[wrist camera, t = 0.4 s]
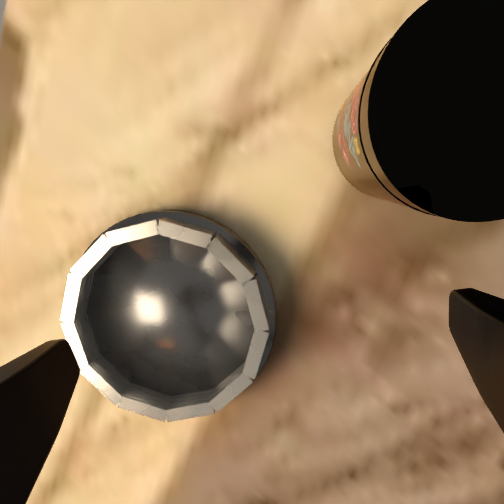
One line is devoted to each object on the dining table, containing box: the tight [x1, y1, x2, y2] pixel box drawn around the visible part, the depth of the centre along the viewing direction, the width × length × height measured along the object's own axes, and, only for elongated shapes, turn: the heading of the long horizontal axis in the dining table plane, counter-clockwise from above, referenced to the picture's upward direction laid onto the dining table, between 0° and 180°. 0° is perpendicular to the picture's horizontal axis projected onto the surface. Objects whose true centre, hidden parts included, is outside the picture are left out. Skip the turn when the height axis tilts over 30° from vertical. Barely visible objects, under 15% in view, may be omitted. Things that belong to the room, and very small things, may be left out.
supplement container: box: [333, 0, 504, 222], centre depth 16 cm, size 7×7×10 cm
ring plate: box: [60, 210, 276, 422], centre depth 23 cm, size 13×13×2 cm
